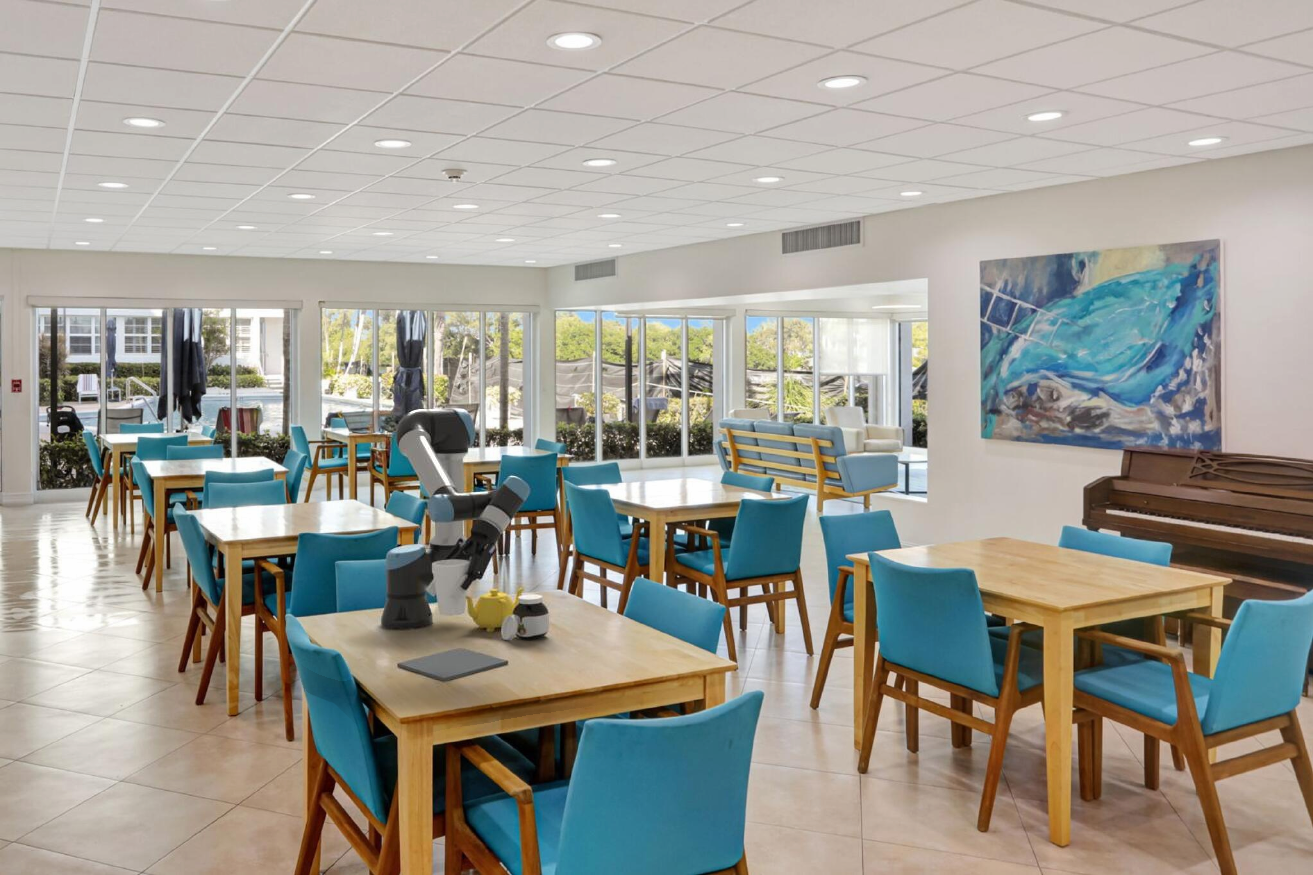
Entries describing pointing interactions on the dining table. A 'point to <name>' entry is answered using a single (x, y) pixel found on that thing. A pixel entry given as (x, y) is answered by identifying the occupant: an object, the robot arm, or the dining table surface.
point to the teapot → (492, 608)
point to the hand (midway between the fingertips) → (441, 595)
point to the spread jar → (527, 619)
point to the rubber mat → (452, 664)
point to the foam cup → (449, 585)
